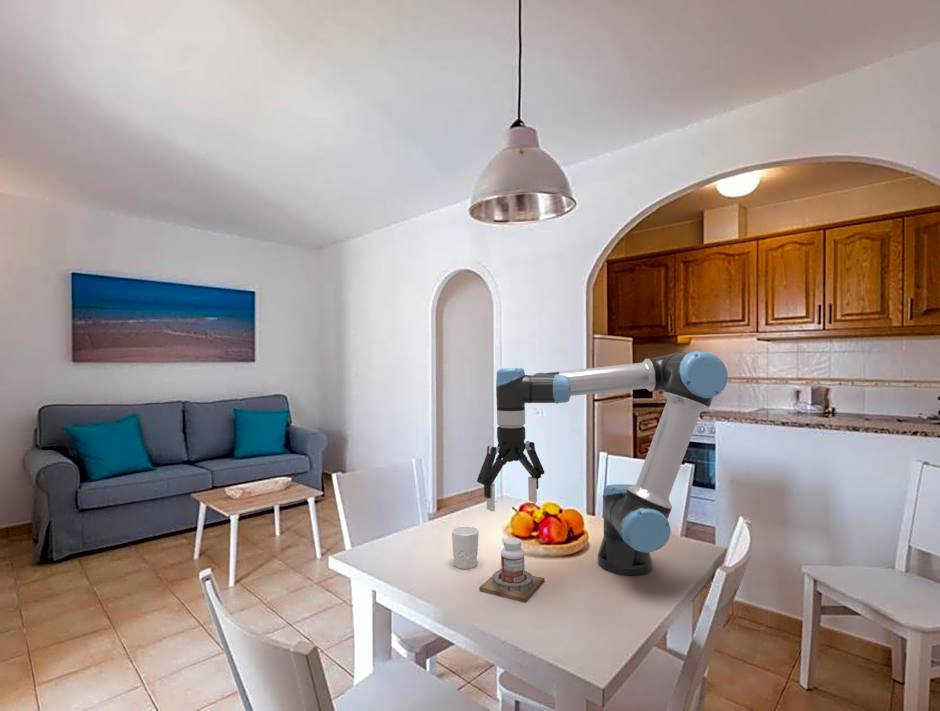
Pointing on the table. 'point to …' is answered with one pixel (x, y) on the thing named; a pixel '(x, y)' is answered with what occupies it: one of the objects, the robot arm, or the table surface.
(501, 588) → the socket base
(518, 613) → the table surface
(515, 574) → the pill bottle
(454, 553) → the white cup
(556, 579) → the table surface
